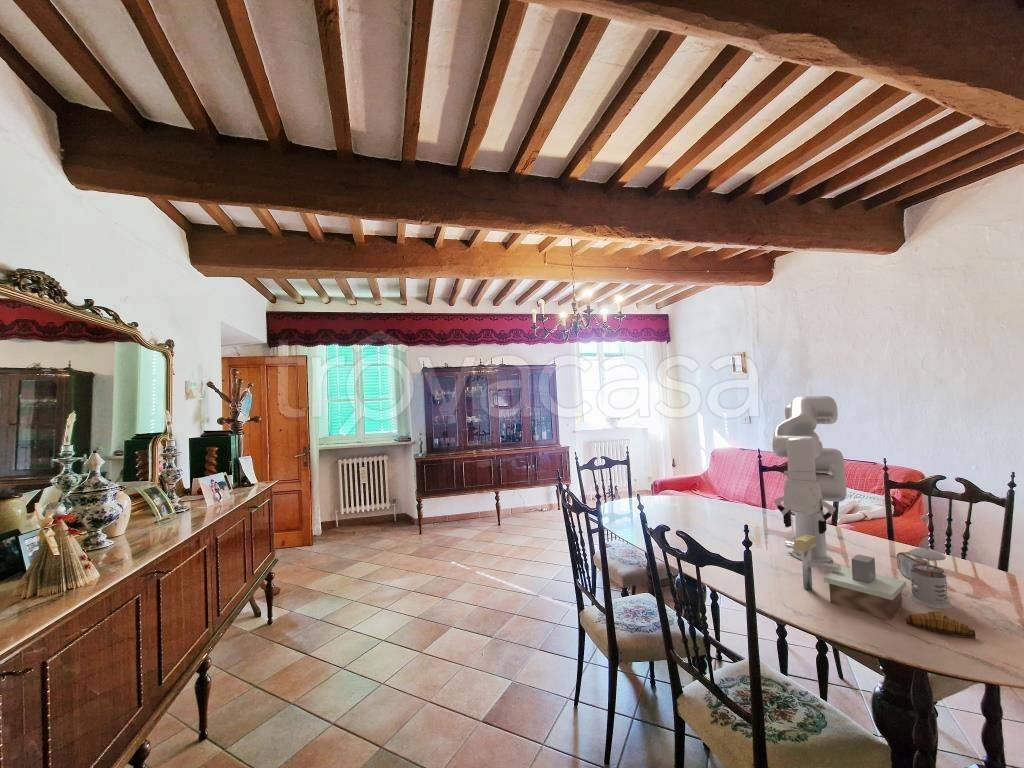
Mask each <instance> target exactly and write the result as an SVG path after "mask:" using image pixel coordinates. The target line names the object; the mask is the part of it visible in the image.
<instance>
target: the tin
mask: <svg viewBox="0 0 1024 768" xmlns="http://www.w3.org/2000/svg"><path fill="white" fill-rule="evenodd" d="M895 557H896V564H897V568H898V570H899V572H900V573H901V575H902V576H903V577H904V578H906V579H908V580H909V579H910V581H911V579H912V578H911V569H914V568H913V567H912V565H913V564H916V563H920V564H927V561H928V560H926V559H923V558H919V557H915V556H913V555H911V554H910V553H909V551H906V552H905V551H904V552H897V554H896V556H895ZM913 573H916V572H913ZM916 574H918V575H919V573H916ZM929 577H932V578H933V573H930V575H929ZM913 582H915V583H917V581H913Z"/></svg>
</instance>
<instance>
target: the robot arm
mask: <svg viewBox="0 0 1024 768" xmlns="http://www.w3.org/2000/svg"><path fill="white" fill-rule="evenodd" d="M784 416H785V420H784V421H783V422H781V423H779V425H777V426H775V427H776V428H774V430H773V436H772V443H771V444H772V451H773V454H775V456H777V457H778V458H787V459H786V460H787V470H784V471H783V475H784V476H787V478H786V479H785V481H784V488H783V496H781V497H779V498H775V499H774V500H773V502H774V504H775V505H776V508H777V509H778V511H780V513H781V515H783V524H784V528H789V527H791V526H792V515H791V513H790V512H794V522H795V523H794V524H795V528H794V529H795V540H796V539H798V538H800V537H802V536H804V535H811V536H816V545H817V546H815V547H813V548H812V549H810V552H811V560H816V561H820V562H824V563H826V562H827V563H831V562H832V560H833V559H832V556H831V555H830V554H829V553H827V541H826V540H827V539H826V532H827V529H828V528H827V520H828V519H830V518H831V517H832V516H833V514H834V512H835V511H836V509H837V508H836V507H835V506H833V505H831V504H829V503H828V502H835V503H836V502H837V503H840V502H844V501H845V499H847V482H846V481H847V480H846V469H845V468H846V467H845V460H844V456H843V453H842V451H840V450H839V449H837V448H830V447H823V443H822V441H821V440H820V437H819V435H818V434H817V433H816V431H815V430H816V428H817V425H833V424H835V423H836V422H837V421H838V416H839V412H838V405H837V402H836V400H835V399H834V398H832V397H831V396H829V395H828V396H827V395H812V396H811V395H810V396H809V395H807V396H804V395H803V396H799V397H797V396H796V397H795V398H794V399H792V400H791V402H790V404H788V405H786V407H785V409H784ZM816 473H820V474H816ZM821 473H823V474H821ZM824 473H825V475H824ZM826 474H829V475H826ZM781 502H783V504H782V503H781ZM824 508H826V509H827V512H826V513H825V512H824ZM784 544H785V545H784V546H785V547H786V548H787V549H793V550H792V552H791V555H792V557H794V558H796V559H798V560H800V561H802V551H799V550H795V543H794V542H793V541H789V540H785V542H784Z"/></svg>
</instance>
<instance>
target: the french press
mask: <svg viewBox="0 0 1024 768" xmlns="http://www.w3.org/2000/svg"><path fill="white" fill-rule="evenodd" d="M919 520H921V521H923V525H924V526H923V527H924V528H923V529H924V540H925V547H916V548H913V549H910V550H908V552H909V553H910V554H911V555H913V556H915V557H919V558H922V559H924V560H926V561H927V564H920V563H916V564H913V565H912V567H913V568H914V569H911V578H912V579H911V580H910V583H911V584H910V585H911V593H909V594H908V595H907V598H908V599H909V600H910V601H912V602H914V603H916V604H919V605H923V606H926V607H929V608H935V609H951V608H953V607H952V605H953V603H952V602H950V600H949V599H948V586H947V584H948V583H947V575H946V574H944V573H945V570H944V569H943V568H942V567H938V566H937V561H944V560H946V556H945V555H944V554H943V553H942V552H939V551H937V550H934V549H931V548H928V547H927V532H926V522H928V521H929V517H928V516H927V515H921V516H920V518H919ZM930 562H935V565H933V564H930ZM913 572H916V573H919V575H918V574H916V573H913ZM930 573H933V578H932V577H929V575H930ZM913 581H917V583H914V582H913ZM950 607H951V608H950Z"/></svg>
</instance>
